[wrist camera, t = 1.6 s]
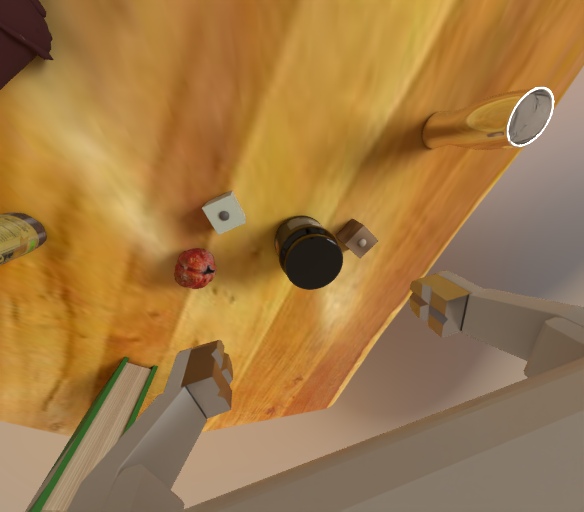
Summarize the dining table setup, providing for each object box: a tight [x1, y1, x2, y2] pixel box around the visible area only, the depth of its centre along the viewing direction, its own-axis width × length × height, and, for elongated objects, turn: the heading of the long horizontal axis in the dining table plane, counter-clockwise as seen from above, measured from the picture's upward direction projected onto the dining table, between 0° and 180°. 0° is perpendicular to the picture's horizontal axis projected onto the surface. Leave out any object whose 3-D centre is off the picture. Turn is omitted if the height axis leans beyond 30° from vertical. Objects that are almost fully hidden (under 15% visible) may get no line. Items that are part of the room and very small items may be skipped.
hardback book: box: [25, 357, 158, 512], centre depth 41 cm, size 18×7×24 cm, turn 141°
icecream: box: [0, 0, 53, 90], centre depth 23 cm, size 7×7×15 cm
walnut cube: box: [336, 219, 378, 258], centre depth 44 cm, size 5×5×5 cm
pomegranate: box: [174, 248, 216, 289], centre depth 39 cm, size 7×7×10 cm
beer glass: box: [422, 87, 554, 150], centre depth 34 cm, size 7×7×15 cm
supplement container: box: [275, 216, 343, 290], centre depth 39 cm, size 10×10×12 cm
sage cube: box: [202, 191, 246, 235], centre depth 37 cm, size 5×5×5 cm
